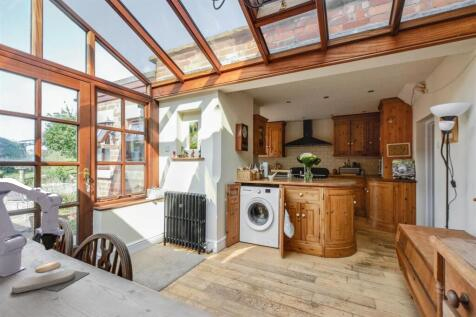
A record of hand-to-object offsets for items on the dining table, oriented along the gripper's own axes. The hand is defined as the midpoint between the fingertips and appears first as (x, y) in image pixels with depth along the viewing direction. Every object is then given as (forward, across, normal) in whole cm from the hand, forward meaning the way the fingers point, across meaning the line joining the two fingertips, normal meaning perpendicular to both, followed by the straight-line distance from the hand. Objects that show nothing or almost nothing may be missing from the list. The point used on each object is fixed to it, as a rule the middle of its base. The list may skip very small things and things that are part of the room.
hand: (48, 249), depth 96 cm
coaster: (+10, -4, +3) cm, 12 cm away
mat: (+10, +14, -4) cm, 18 cm away
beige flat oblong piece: (+9, +6, -5) cm, 12 cm away
